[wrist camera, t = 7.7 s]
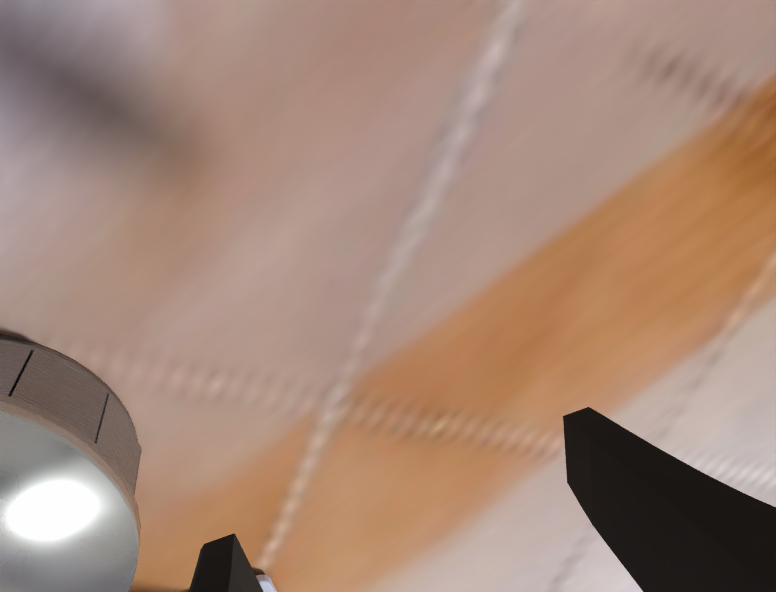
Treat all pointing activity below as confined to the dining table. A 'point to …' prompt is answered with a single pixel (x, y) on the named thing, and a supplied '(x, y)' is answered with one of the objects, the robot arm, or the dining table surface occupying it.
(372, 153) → the dining table surface
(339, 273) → the dining table surface
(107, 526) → the lid
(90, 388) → the pot
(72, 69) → the dining table surface
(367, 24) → the dining table surface
